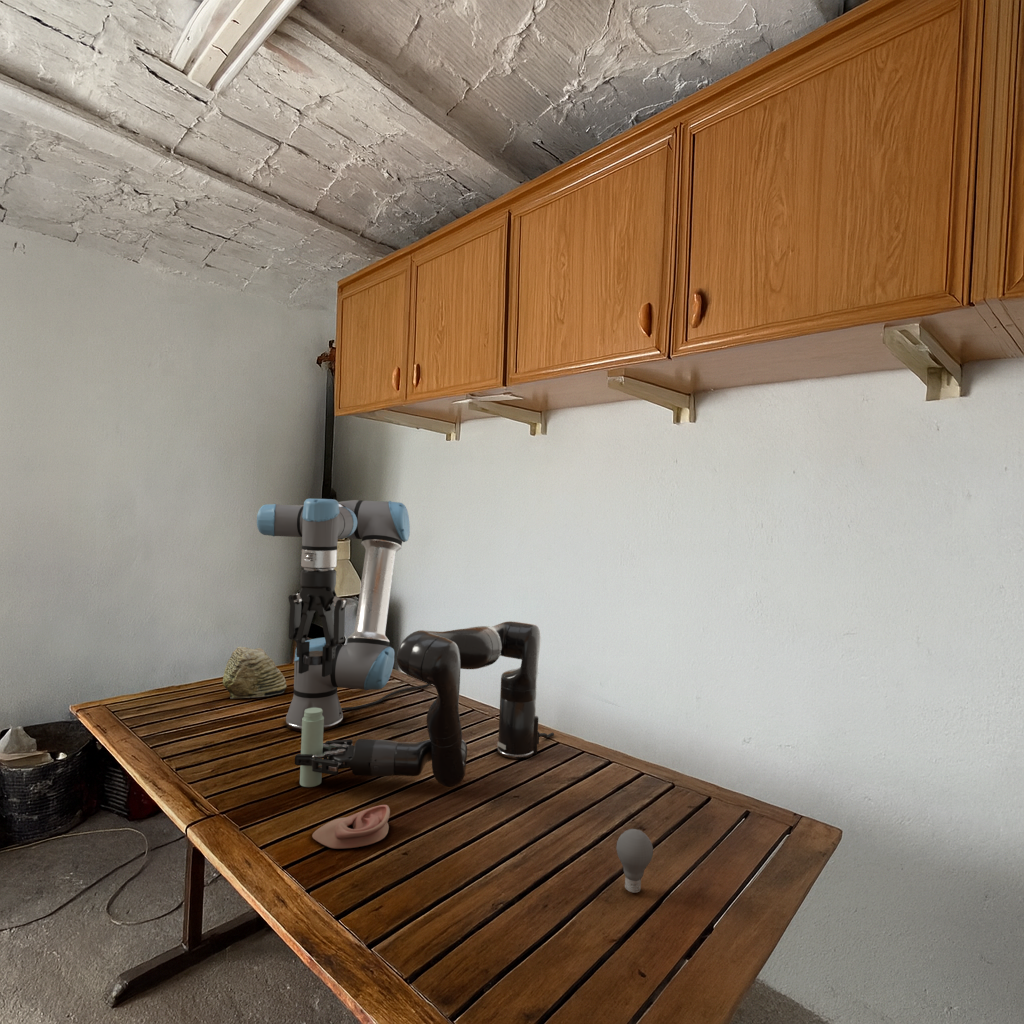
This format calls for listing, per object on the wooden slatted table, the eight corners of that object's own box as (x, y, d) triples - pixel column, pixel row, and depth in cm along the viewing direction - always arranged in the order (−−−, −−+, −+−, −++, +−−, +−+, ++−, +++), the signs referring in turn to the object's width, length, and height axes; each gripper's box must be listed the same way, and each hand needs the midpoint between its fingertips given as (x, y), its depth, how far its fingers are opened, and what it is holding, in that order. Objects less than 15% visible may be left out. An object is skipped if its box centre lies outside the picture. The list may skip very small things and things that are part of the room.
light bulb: (610, 879, 108) (613, 822, 108) (644, 879, 109) (647, 822, 109) (619, 902, 102) (622, 840, 102) (655, 901, 103) (658, 840, 103)
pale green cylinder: (314, 788, 137) (317, 714, 137) (295, 785, 138) (298, 712, 138) (325, 779, 142) (328, 708, 142) (306, 776, 143) (309, 705, 143)
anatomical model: (304, 822, 115) (334, 794, 126) (303, 844, 115) (333, 813, 126) (372, 833, 112) (397, 803, 124) (371, 855, 113) (396, 823, 124)
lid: (306, 658, 142) (306, 650, 142) (330, 659, 143) (330, 650, 143) (299, 665, 137) (300, 656, 137) (324, 665, 137) (325, 656, 137)
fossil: (218, 695, 195) (220, 647, 195) (278, 685, 208) (279, 640, 207) (228, 703, 189) (230, 653, 188) (289, 692, 201) (290, 645, 201)
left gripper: (272, 567, 138) (269, 672, 139) (346, 573, 133) (342, 683, 134) (293, 564, 146) (290, 664, 146) (364, 570, 140) (360, 674, 141)
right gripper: (383, 729, 147) (309, 726, 147) (370, 753, 133) (288, 750, 133) (382, 761, 147) (308, 758, 147) (368, 789, 133) (287, 786, 133)
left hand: (315, 673), depth 140 cm, fingers closed on lid, 5 cm apart
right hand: (299, 754), depth 140 cm, fingers closed on pale green cylinder, 4 cm apart
